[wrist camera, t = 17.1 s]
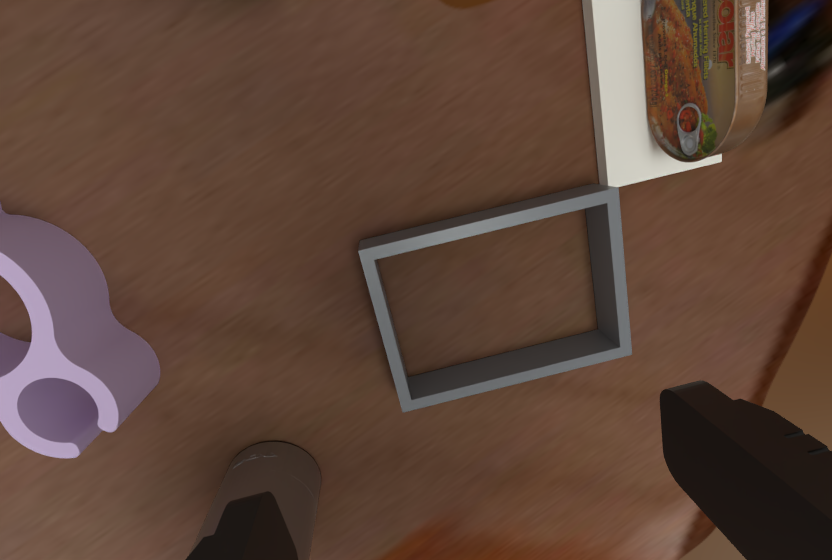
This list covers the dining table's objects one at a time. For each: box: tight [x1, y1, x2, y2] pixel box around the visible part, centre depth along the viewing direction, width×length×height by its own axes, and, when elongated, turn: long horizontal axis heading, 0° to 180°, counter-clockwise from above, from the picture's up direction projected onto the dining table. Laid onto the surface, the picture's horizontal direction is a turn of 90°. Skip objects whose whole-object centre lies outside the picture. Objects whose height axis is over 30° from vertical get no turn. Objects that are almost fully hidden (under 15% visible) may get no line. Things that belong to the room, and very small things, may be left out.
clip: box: [0, 203, 160, 458], centre depth 34 cm, size 20×12×7 cm, turn 34°
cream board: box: [582, 0, 722, 187], centre depth 35 cm, size 18×10×2 cm, turn 13°
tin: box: [641, 0, 768, 162], centre depth 30 cm, size 15×3×8 cm, turn 13°
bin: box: [358, 184, 632, 412], centre depth 38 cm, size 15×21×4 cm
